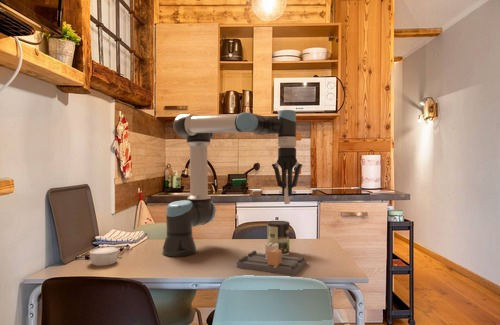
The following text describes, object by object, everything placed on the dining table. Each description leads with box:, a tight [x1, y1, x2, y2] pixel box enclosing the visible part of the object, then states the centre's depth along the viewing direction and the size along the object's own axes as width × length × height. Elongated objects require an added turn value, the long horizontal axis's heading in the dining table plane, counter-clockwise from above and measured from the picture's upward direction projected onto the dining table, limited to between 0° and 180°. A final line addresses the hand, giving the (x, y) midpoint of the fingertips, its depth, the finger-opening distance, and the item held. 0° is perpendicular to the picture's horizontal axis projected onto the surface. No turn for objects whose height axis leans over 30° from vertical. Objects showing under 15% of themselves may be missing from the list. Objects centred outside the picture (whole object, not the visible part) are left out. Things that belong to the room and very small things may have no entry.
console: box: [236, 250, 307, 276], centre depth 139 cm, size 24×17×3 cm
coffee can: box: [266, 220, 290, 256], centre depth 158 cm, size 10×10×14 cm
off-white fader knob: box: [265, 243, 279, 258], centre depth 143 cm, size 4×5×5 cm
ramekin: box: [89, 246, 120, 267], centre depth 142 cm, size 11×11×5 cm
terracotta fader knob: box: [268, 249, 282, 266], centre depth 133 cm, size 4×5×5 cm
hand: (287, 203), depth 143 cm, fingers closed
